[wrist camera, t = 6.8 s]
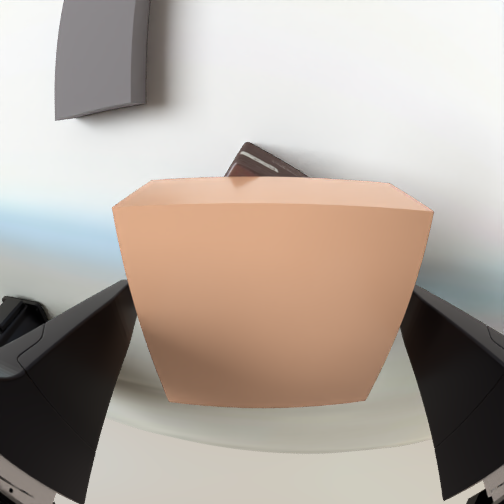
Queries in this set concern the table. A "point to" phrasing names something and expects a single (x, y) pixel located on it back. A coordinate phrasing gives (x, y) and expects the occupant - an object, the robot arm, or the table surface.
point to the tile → (270, 284)
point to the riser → (100, 56)
